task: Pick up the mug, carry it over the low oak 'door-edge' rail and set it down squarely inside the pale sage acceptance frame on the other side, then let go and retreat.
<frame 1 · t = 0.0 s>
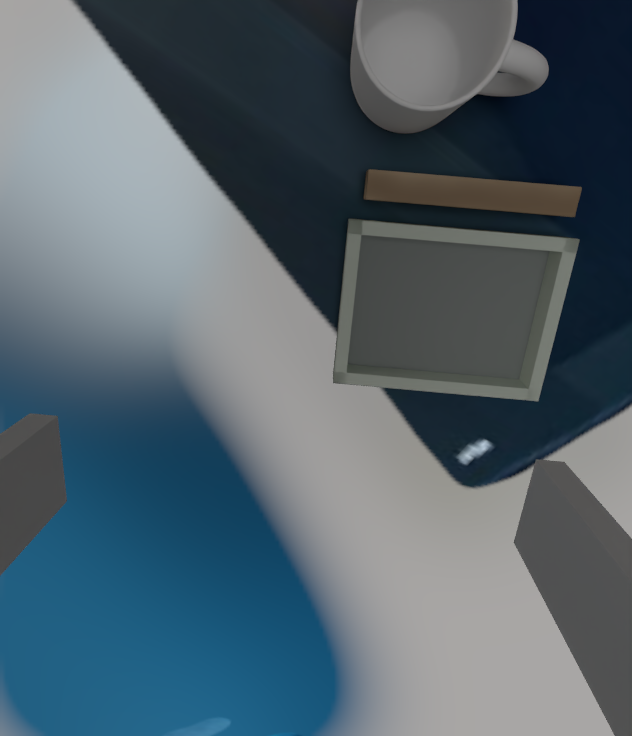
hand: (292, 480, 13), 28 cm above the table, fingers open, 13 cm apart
acceptance frame: (442, 308, 40), on the table
edge rail: (461, 193, 37), on the table
mug: (431, 79, 34), on the table
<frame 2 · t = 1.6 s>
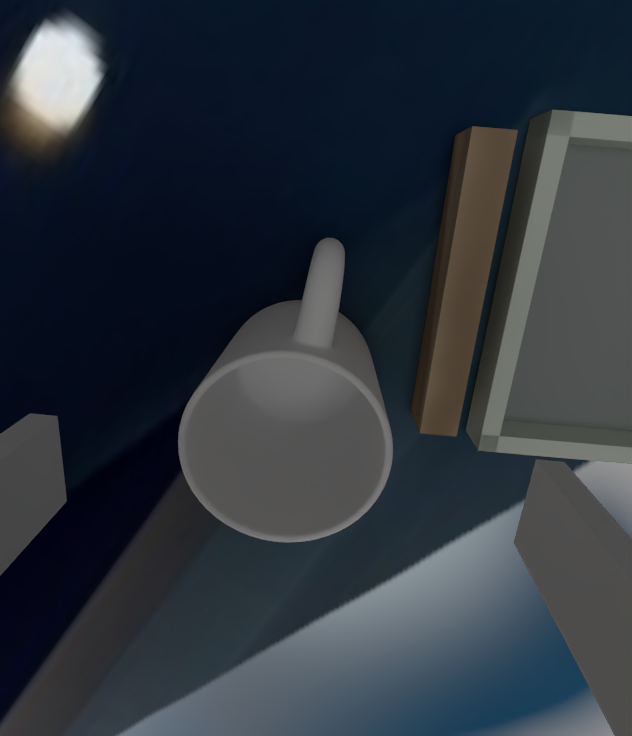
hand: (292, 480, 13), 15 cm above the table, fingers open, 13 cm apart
acceptance frame: (612, 301, 26), on the table
edge rail: (449, 287, 26), on the table
mug: (308, 335, 28), on the table
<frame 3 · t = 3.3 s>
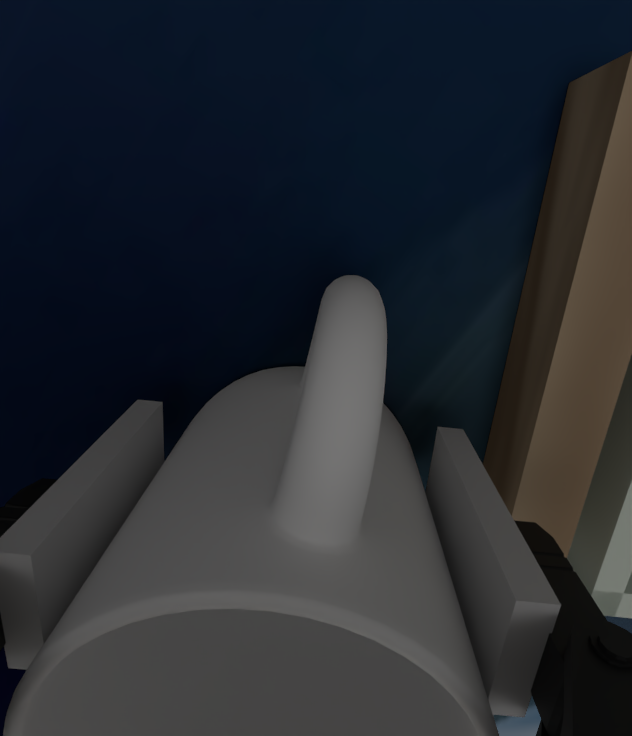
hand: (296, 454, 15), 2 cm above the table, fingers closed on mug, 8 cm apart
edge rail: (540, 345, 16), on the table
mug: (310, 418, 17), on the table, touching gripper
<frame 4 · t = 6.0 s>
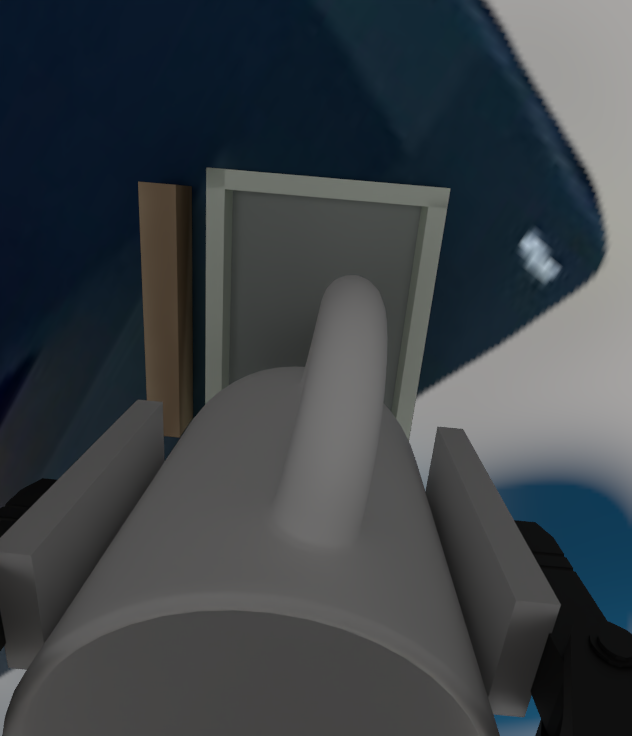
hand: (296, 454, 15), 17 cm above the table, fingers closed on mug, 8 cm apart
acceptance frame: (316, 322, 30), on the table
edge rail: (176, 309, 31), on the table
mug: (311, 418, 17), point 14 cm above the table, touching gripper
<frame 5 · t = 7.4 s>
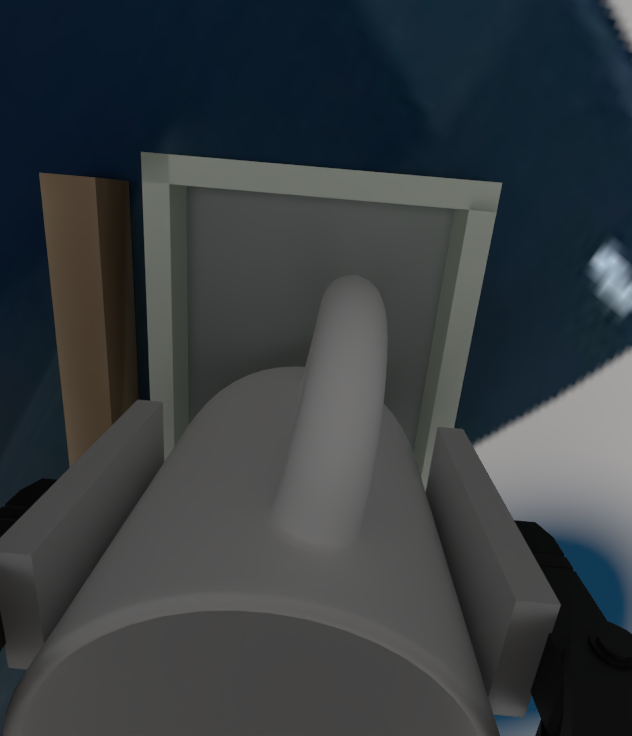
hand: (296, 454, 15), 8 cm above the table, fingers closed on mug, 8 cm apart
acceptance frame: (307, 367, 22), on the table
edge rail: (115, 350, 22), on the table
mug: (311, 418, 17), point 5 cm above the table, touching gripper
when the fingers open (4 cm above the table, at t = 8.6 s): mug drops 2 cm, resting on acceptance frame.
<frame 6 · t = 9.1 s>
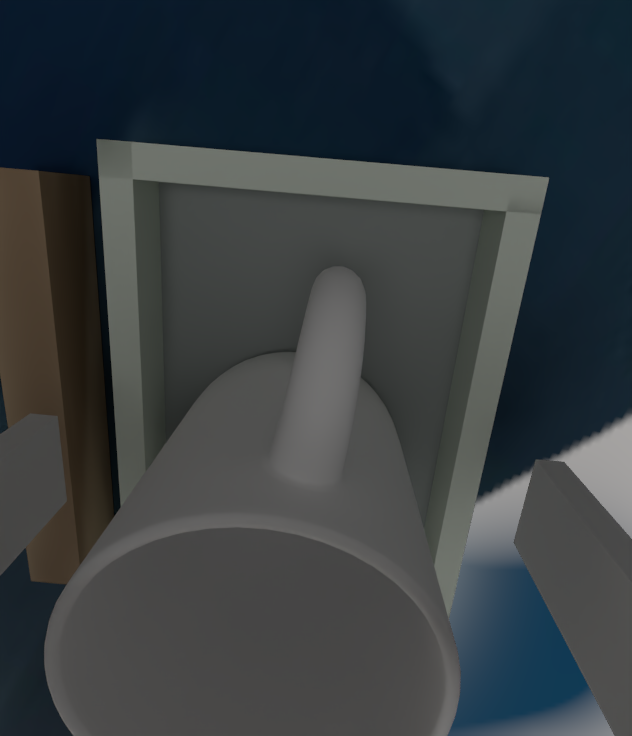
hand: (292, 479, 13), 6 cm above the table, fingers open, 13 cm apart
acceptance frame: (305, 397, 19), on the table
edge rail: (79, 376, 19), on the table
mug: (304, 400, 19), resting on acceptance frame
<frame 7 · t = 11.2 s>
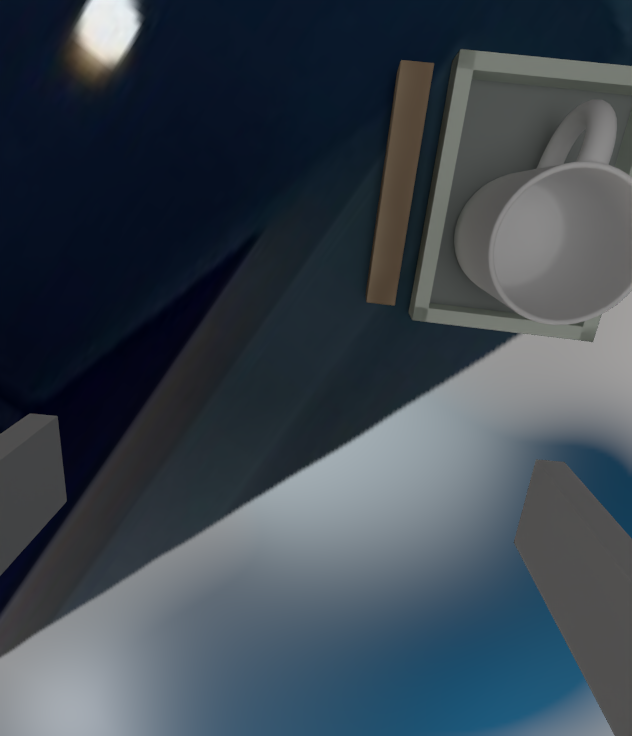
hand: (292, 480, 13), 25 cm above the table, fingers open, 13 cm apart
acceptance frame: (519, 207, 34), on the table
edge rail: (394, 193, 34), on the table
mug: (519, 208, 34), resting on acceptance frame
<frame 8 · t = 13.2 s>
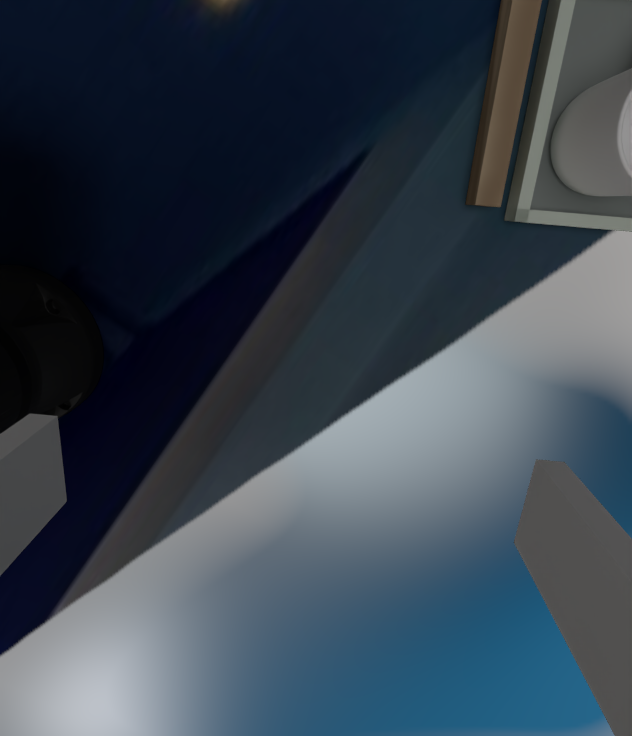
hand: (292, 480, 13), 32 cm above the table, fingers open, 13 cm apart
acceptance frame: (608, 115, 38), on the table
edge rail: (495, 106, 38), on the table
mug: (608, 116, 38), resting on acceptance frame
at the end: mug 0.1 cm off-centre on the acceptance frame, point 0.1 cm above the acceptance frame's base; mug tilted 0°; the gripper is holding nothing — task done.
